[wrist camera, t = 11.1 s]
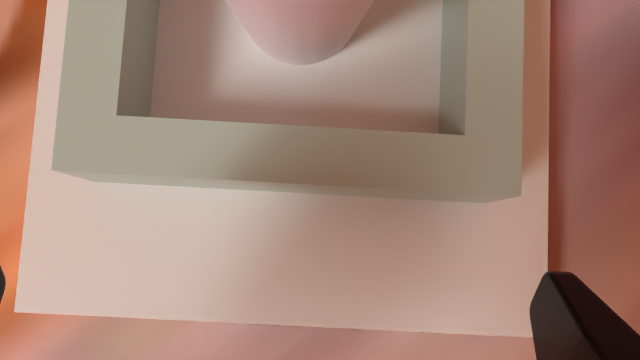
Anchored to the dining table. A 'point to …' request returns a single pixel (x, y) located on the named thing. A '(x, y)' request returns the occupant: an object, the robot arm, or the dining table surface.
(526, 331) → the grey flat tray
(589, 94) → the dining table surface
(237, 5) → the smoothie
